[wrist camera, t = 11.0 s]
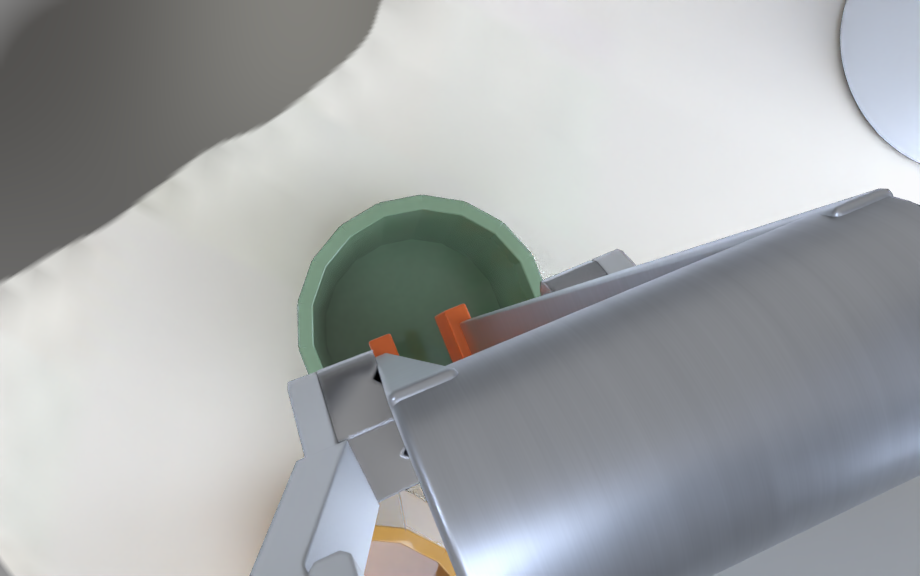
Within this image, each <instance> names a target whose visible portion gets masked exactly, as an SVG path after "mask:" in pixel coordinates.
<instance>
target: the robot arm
mask: <svg viewBox="0 0 920 576" xmlns="http://www.w3.org/2000/svg"><path fill="white" fill-rule="evenodd" d="M840 47H841V57H842V63H843V68H844V72H845V76H846V79H847V82H848V85H849V88H850V90H851V93H852V95H853V97H854V99H855V101H856V103H857V105H858V107H859V108H860V110H861V112H862V113H863V115H864V116H865V118H866V119H867V120H868V122H869V123H870V124H871V126H872V127H873V128H874V129H875V130H876V132H877V133H878V134H879V135H880V136H881V137H882V138H883V139H884V140H885V141H887V142H888V143H889V144H890V145H891V146H892V147H894V148H895V149H896V150H898V151H899V152H900V153H902V154H903V155H905V156H907V157H908V158H910V159H912V160H914V161H916V162H918V163H920V0H846V3H845V7H844V11H843V16H842V21H841V30H840ZM634 266H636V265H635V264H634V263H633V261H632V260H631V259H630V258H629V257H628V256H627V255H626V254H625V253H624V252H623V251H621V250H619V249H616V250H614V251H611V252H609V253H606V254H604V255H602V256H599V257H597V258H594V259H592V261H587V262H585V263H582V264H580V265H578V266H575V267H573V268H571V269H568V270H566V271H563V272H561V273H559V274H556V275H554V276H551V277H549V278H547V279H544V280H542V281H540V294H541V296H543V295H546V294H549V293H552V292H555V291H558V290H562V289H565V288H568V287H571V286H574V285H577V284H580V283H584V282H587V281H590V280H593V279H596V278H599V277H602V276H606V275H609V274H612V273H615V272H618V271H621V270H624V269H628V268H631V267H634ZM377 365H378V363H377V360H376V358H375V355H374V353H373V350H370V351H367V352H365V353H362V354H359V355H357V356H354V357H352V358H349V359H346V360H344V361H341V362H338V363H336V364H333V365H330V366H328V367H325V368H322V369H320V370H317V371H316V372H314V373H311V374H308V375H306V376H303V377H300V378H298V379H295V380H292V381H290V382H288V394H289V398H290V401H291V405H292V409H293V413H294V417H295V421H296V425H297V429H298V433H299V437H300V441H301V444H302V448H303V452H304V456H305V458H302V459H300V460H298V461H296V464H295V466H294V468H293V471H292V473H291V476H290V478H289V481H288V483H287V486H286V488H285V490H284V493H283V495H282V498H281V500H280V503H279V505H278V507H277V510H276V512H275V515H274V517H273V520H272V522H271V525H270V527H269V529H268V532H267V534H266V537H265V539H264V542H263V544H262V546H261V549H260V551H259V554H258V556H257V559H256V561H255V564H254V566H253V568H252V571H251V573H250V576H364V571H365V566H366V562H367V558H368V553H369V549H370V545H371V540H372V536H373V531H374V527H375V523H376V518H377V514H378V510H379V503H378V502H381V501H383V500H385V499H387V498H389V497H391V496H393V495H396V494H398V493H400V492H402V491H404V490H406V489H408V488H410V487H413V486H415V485H417V484H419V480H418V478H417V475H416V473H415V470H414V468H413V465H412V463H411V460H410V457H409V455H408V452H407V450H406V447H405V445H404V442H403V440H402V437H401V435H400V432H399V429H398V427H397V424H396V422H395V419H394V417H393V414H392V411H391V409H390V406H389V404H388V401H387V397H386V394H385V391H384V388H383V384H382V381H381V378H380V374H379V371H378V368H377ZM713 576H920V475H919V476H917V477H915V478H913V479H911V480H909V481H907V482H905V483H903V484H901V485H899V486H897V487H894V488H892V489H890V490H888V491H886V492H884V493H882V494H880V495H878V496H876V497H874V498H872V499H870V500H868V501H866V502H864V503H861V504H859V505H857V506H855V507H853V508H851V509H849V510H847V511H845V512H843V513H841V514H839V515H837V516H835V517H833V518H831V519H828V520H826V521H824V522H822V523H820V524H818V525H816V526H814V527H812V528H810V529H808V530H806V531H804V532H802V533H800V534H798V535H796V536H793V537H791V538H789V539H787V540H785V541H783V542H781V543H779V544H777V545H775V546H773V547H771V548H769V549H767V550H765V551H763V552H760V553H758V554H756V555H754V556H752V557H750V558H748V559H746V560H744V561H742V562H740V563H738V564H736V565H734V566H732V567H730V568H728V569H725V570H723V571H721V572H719V573H717V574H715V575H713Z"/></svg>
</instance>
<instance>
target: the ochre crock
mask: <svg viewBox="0 0 920 576" xmlns="http://www.w3.org/2000/svg"><path fill="white" fill-rule="evenodd" d="M378 503H379V510H378V514H377V518H376V523H375V527H374V531H373V536H372V540H371V545H370V549H369V553H368V558H367V562H366V566H365V571H364V576H456V573H455V571H454V568H453V566H452V563H451V561H450V558H449V556H448V553H447V551H446V548H445V546H444V543H443V541H442V538H441V536H440V533H439V531H438V528H437V526H436V523H435V521H434V518H433V516H432V513H431V511H430V508H429V506H428V503H427V502H426V501H424V500H423V499H421V498H420V497H418V496H417V495H415V494H412V493H410V492H408V491H406V490H404V491H402V492H400V493H398V494H396V495H393V496H391V497H389V498H387V499H385V500H383V501H381V502H378Z"/></svg>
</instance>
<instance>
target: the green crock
mask: <svg viewBox="0 0 920 576" xmlns="http://www.w3.org/2000/svg"><path fill="white" fill-rule="evenodd" d="M542 280H543V279H542V277H541V274H540V272H539V270H538V267H537V265H536V262H535V260H534V257H533V256H532V254H531V253H530V251H529V250H528V249H527V248H526V247H525V246H524V245H523V244H522V243H521V241H520V240H519V239H518V238H517V237H516V236H515V235H514V234H513V232H512V231H511V230H510V229H509V228H508V227H507V226H506V225H505V224H504V223H503V222H502V221H500V220H498V219H497V218H495V217H493V216H491V215H489V214H487V213H486V212H484V211H482V210H480V209H478V208H476V207H475V206H473V205H471V204H469V203H467V202H464V201H460V200H454V199H447V198H441V197H435V196H428V195H416V196H411V197H406V198H401V199H395V200H390V201H385V202H380V203H379V204H376V205H374V206H372V207H371V208H369V209H367V210H365V211H364V212H362V213H360V214H359V215H357V216H355V217H354V218H352V219H350V220H349V221H347V222H345V223H344V224H342V225H341V226H340V227H339V228H338V229H337V230H336V231H335V233H334V234H333V235H332V236H331V238H330V239H329V240H328V241H327V242H326V244H325V245H324V246H323V247H322V249H321V250H320V251H319V252H318V253H317V255H316V256H315V257H314V258H313V261H311V264H310V267H309V270H308V273H307V276H306V279H305V282H304V285H303V287H302V290H301V293H300V296H299V299H298V304H297V315H298V347H299V352H300V354H301V357H302V359H303V362H304V364H305V367H306V369H307V372H308V374H311V373H314V372H316V371H317V370H320V369H322V368H325V367H328V366H330V365H333V364H336V363H338V362H341V361H344V360H346V359H349V358H352V357H354V356H357V355H359V354H362V353H365V352H367V351H370V350H371V348H370V346H369V342H370V341H371V340H374V339H376V338H378V337H381V336H383V335H386V334H391V336H392V339H393V341H394V344H395V346H396V349H397V351H398V354H399V356H402V357H407V358H411V359H415V360H420V361H424V362H429V363H433V364H438V365H442V366H446V365H449V364H451V363H453V362H452V360H451V357H450V355H449V352H448V350H447V348H446V345H445V343H444V340H443V338H442V335H441V333H440V330H439V328H438V325H437V323H436V320H435V316H436V315H438V314H440V313H442V312H444V311H445V310H448V309H450V308H453V307H455V306H458V305H460V304H465V305H466V307H467V309H468V312H469V314H470V317H471V318H473V317H477V316H480V315H483V314H486V313H489V312H492V311H495V310H499V309H502V308H505V307H508V306H511V305H514V304H518V303H521V302H524V301H527V300H530V299H533V298H536V297H540V296H541V294H540V281H542Z"/></svg>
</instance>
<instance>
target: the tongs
mask: <svg viewBox="0 0 920 576" xmlns="http://www.w3.org/2000/svg"><path fill="white" fill-rule="evenodd" d="M435 320H436V323H437V325H438V328H439V330H440V333H441V335H442V338H443V340H444V343H445V345H446V348H447V350H448V352H449V355H450V357H451V360H452V362H453V363H451V364H449V365H446V366H442V365H438V364H433V363H429V362H424V361H420V360H415V359H411V358H407V357H402V356H399V354H398V351H397V349H396V346H395V344H394V341H393V339H392V336H391V334H386V335H383V336H381V337H378V338H376V339H374V340H371V341H370V342H369V346H370V348H371V350H373V353H374V355H375V358H376V360H377V363H378V365H377V368H378V371H379V374H380V378H381V381H382V384H383V388H384V391H385V394H386V397H387V401H388V404H389V406H390V409H391V411H392V414H393V417H394V419H395V422H396V424H397V427H398V429H399V432H400V435H401V437H402V440H403V442H404V445H405V447H406V450H407V452H408V455H409V457H410V460H411V463H412V465H413V468H414V470H415V473H416V475H417V478H418V480H419V483H420V485H421V488H422V490H423V493H424V495H425V498H426V501H427V503H428V506H429V508H430V511H431V513H432V516H433V518H434V521H435V523H436V526H437V528H438V531H439V533H440V536H441V538H442V541H443V543H444V546H445V548H446V551H447V553H448V556H449V558H450V561H451V563H452V566H453V568H454V571H455V573H456V576H713V575H715V574H717V573H719V572H721V571H723V570H725V569H728V568H730V567H732V566H734V565H736V564H738V563H740V562H742V561H744V560H746V559H748V558H750V557H752V556H754V555H756V554H758V553H760V552H763V551H765V550H767V549H769V548H771V547H773V546H775V545H777V544H779V543H781V542H783V541H785V540H787V539H789V538H791V537H793V536H796V535H798V534H800V533H802V532H804V531H806V530H808V529H810V528H812V527H814V526H816V525H818V524H820V523H822V522H824V521H826V520H828V519H831V518H833V517H835V516H837V515H839V514H841V513H843V512H845V511H847V510H849V509H851V508H853V507H855V506H857V505H859V504H861V503H864V502H866V501H868V500H870V499H872V498H874V497H876V496H878V495H880V494H882V493H884V492H886V491H888V490H890V489H892V488H894V487H897V486H899V485H901V484H903V483H905V482H907V481H909V480H911V479H913V478H915V477H917V476H919V475H920V205H918V204H916V203H913V202H911V201H908V200H904V199H900V198H897V197H893V194H892V193H891V191H890V190H889V189H876V190H873V191H870V192H867V193H864V194H861V195H857V196H854V197H851V198H848V199H845V200H842V201H838V202H835V203H832V204H829V205H826V206H823V207H820V208H816V209H813V210H810V211H807V212H804V213H801V214H798V215H794V216H791V217H788V218H785V219H782V220H779V221H776V222H772V223H769V224H766V225H763V226H760V227H757V228H754V229H750V230H747V231H744V232H741V233H738V234H735V235H732V236H728V237H725V238H722V239H719V240H716V241H713V242H709V243H706V244H703V245H700V246H697V247H694V248H691V249H687V250H684V251H681V252H678V253H675V254H672V255H669V256H665V257H662V258H659V259H656V260H653V261H650V262H647V263H643V264H640V265H637V266H634V267H631V268H628V269H624V270H621V271H618V272H615V273H612V274H609V275H606V276H602V277H599V278H596V279H593V280H590V281H587V282H584V283H580V284H577V285H574V286H571V287H568V288H565V289H562V290H558V291H555V292H552V293H549V294H546V295H543V296H540V297H536V298H533V299H530V300H527V301H524V302H521V303H518V304H514V305H511V306H508V307H505V308H502V309H499V310H495V311H492V312H489V313H486V314H483V315H480V316H477V317H473V318H471V317H470V314H469V312H468V309H467V307H466V305H465V304H460V305H458V306H455V307H453V308H450V309H448V310H445V311H444V312H442V313H440V314H438V315H436V316H435Z"/></svg>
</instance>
